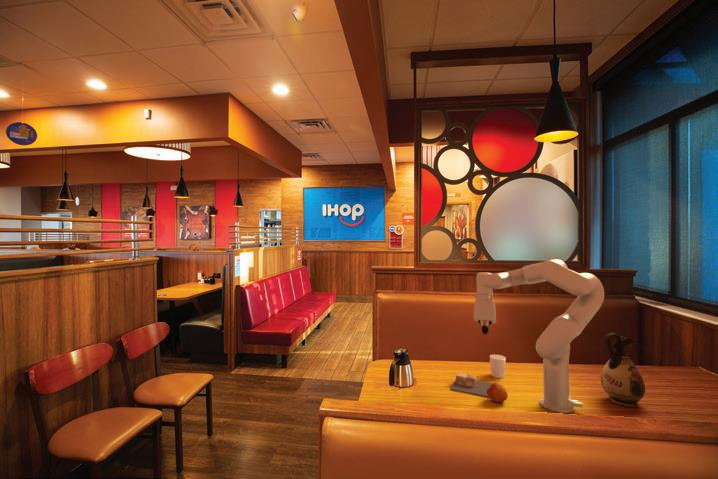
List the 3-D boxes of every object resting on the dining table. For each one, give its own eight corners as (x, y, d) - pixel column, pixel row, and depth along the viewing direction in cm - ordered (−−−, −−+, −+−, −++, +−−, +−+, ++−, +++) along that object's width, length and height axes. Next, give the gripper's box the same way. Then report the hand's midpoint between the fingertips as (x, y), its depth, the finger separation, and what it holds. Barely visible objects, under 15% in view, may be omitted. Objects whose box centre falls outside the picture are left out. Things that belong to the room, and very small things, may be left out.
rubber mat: (494, 384, 165) (494, 383, 165) (490, 397, 151) (490, 396, 151) (457, 378, 173) (457, 376, 173) (450, 389, 159) (450, 388, 159)
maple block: (476, 376, 164) (457, 372, 169) (474, 378, 161) (455, 375, 166) (476, 384, 164) (457, 380, 169) (474, 387, 161) (455, 383, 165)
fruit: (494, 395, 153) (493, 378, 153) (510, 402, 147) (510, 384, 147) (484, 400, 148) (483, 382, 149) (501, 407, 142) (500, 388, 142)
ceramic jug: (624, 393, 154) (623, 328, 155) (655, 409, 139) (653, 338, 139) (589, 394, 154) (587, 329, 154) (616, 411, 138) (614, 338, 139)
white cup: (486, 374, 178) (486, 355, 178) (497, 372, 181) (497, 353, 182) (498, 379, 171) (498, 360, 171) (509, 377, 174) (509, 358, 174)
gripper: (467, 297, 167) (468, 333, 167) (499, 299, 160) (500, 337, 159) (470, 295, 174) (471, 330, 173) (501, 297, 166) (502, 333, 166)
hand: (485, 333), depth 166 cm, fingers closed
